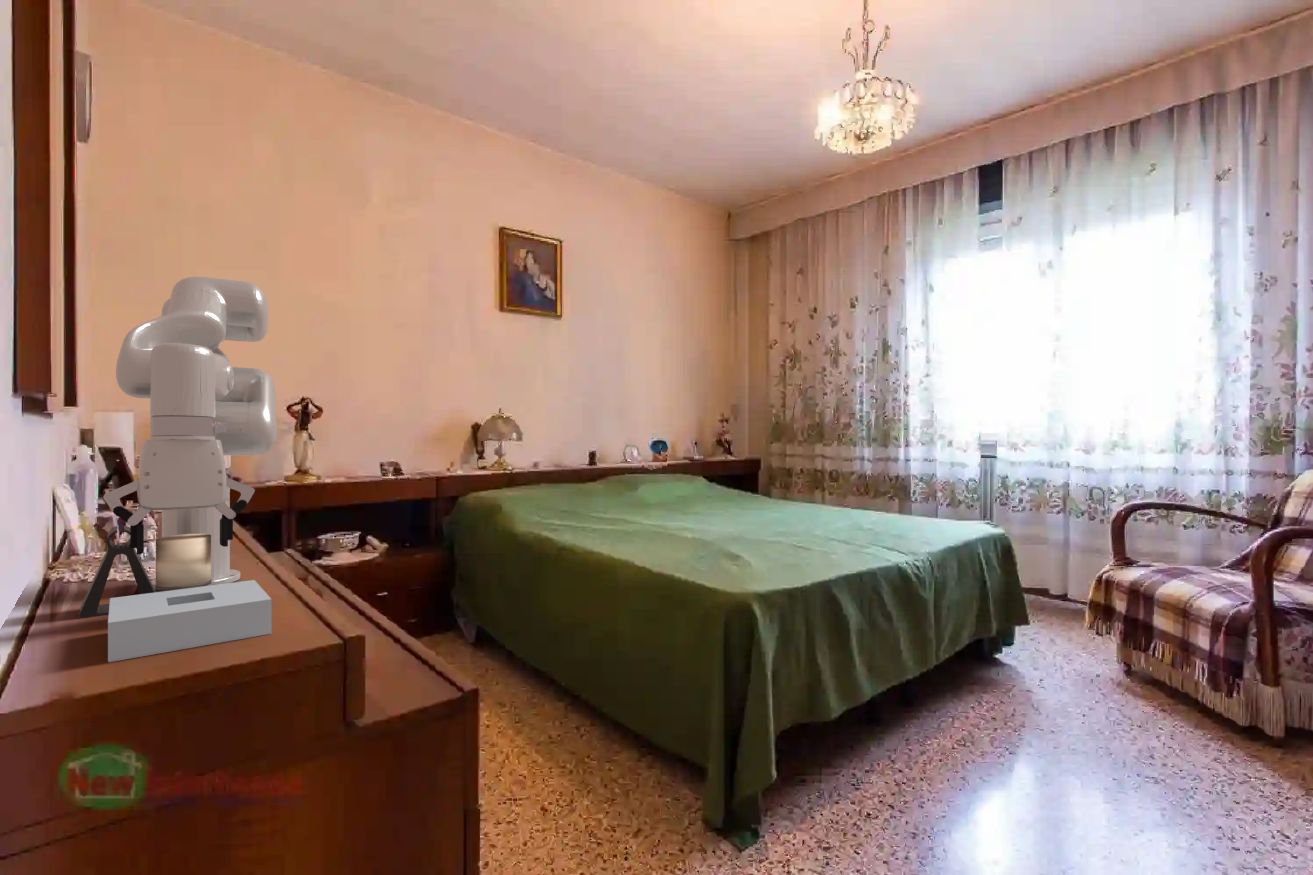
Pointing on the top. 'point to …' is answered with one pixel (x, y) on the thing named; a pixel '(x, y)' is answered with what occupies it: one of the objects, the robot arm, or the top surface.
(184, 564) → the beech peg
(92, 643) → the top surface
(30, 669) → the top surface
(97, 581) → the dark grey a-shaped piece
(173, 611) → the gray rectangular block
